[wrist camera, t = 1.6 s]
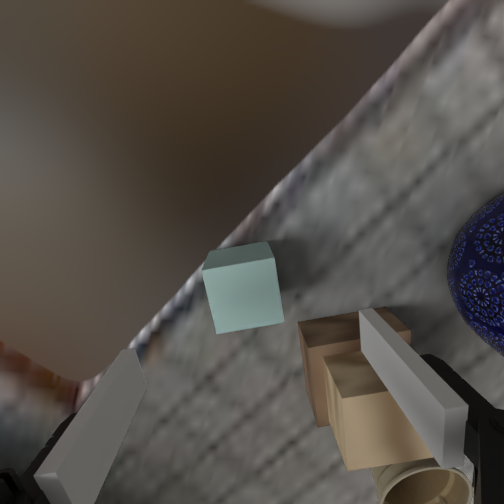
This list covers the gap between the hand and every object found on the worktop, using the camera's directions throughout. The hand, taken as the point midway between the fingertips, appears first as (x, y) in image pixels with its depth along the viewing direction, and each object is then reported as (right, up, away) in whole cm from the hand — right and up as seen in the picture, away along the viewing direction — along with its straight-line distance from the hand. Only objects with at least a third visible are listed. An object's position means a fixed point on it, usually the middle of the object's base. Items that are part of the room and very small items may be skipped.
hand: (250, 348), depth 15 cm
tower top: (+12, -8, +11) cm, 18 cm away
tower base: (+11, -6, +16) cm, 20 cm away
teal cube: (-1, +3, +13) cm, 13 cm away
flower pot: (+17, -17, +19) cm, 31 cm away
